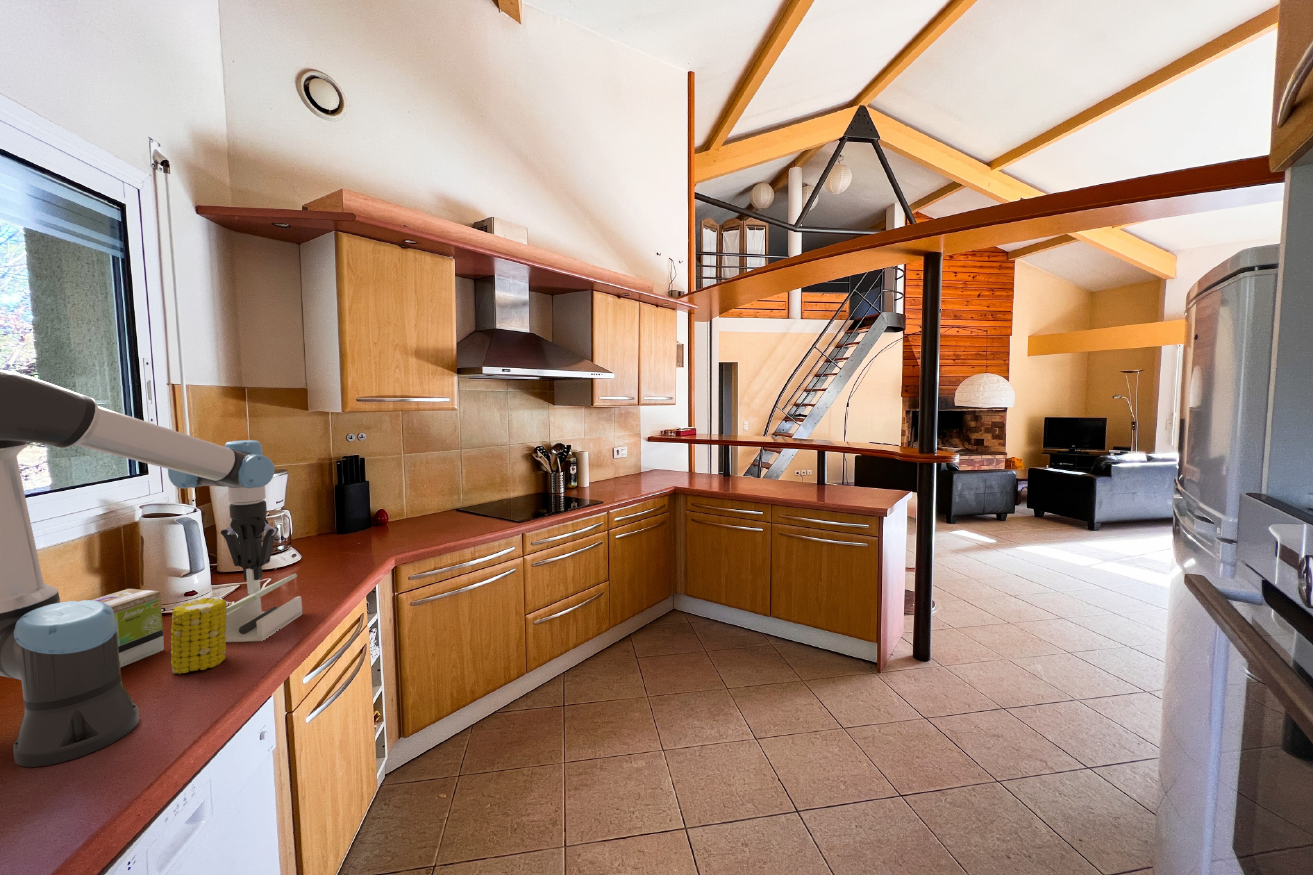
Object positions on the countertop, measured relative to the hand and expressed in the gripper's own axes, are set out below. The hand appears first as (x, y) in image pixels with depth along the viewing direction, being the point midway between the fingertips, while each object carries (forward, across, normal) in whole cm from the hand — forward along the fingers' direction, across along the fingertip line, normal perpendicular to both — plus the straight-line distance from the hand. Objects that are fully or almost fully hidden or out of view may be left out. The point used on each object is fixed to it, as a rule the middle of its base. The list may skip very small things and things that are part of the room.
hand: (254, 591), depth 140 cm
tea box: (+10, +20, +17) cm, 28 cm away
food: (+10, -1, +19) cm, 21 cm away
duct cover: (+1, 0, 0) cm, 2 cm away
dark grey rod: (+9, -1, 0) cm, 9 cm away
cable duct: (+10, -1, 0) cm, 10 cm away
